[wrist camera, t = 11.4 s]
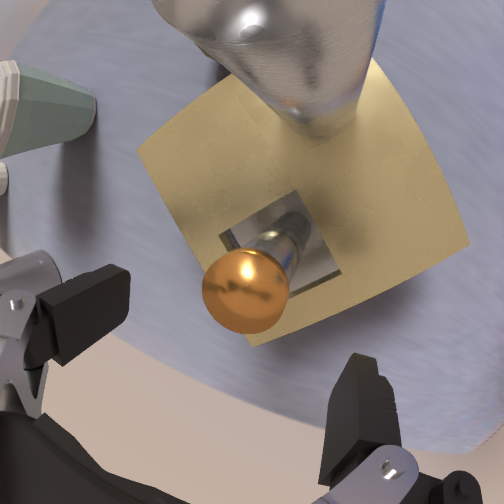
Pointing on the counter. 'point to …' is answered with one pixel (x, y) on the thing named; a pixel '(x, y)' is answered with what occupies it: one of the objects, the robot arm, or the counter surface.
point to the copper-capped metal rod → (256, 277)
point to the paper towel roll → (3, 178)
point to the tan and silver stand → (303, 152)
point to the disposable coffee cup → (40, 109)
